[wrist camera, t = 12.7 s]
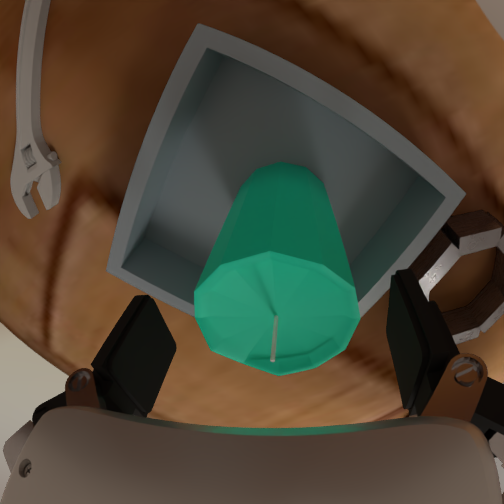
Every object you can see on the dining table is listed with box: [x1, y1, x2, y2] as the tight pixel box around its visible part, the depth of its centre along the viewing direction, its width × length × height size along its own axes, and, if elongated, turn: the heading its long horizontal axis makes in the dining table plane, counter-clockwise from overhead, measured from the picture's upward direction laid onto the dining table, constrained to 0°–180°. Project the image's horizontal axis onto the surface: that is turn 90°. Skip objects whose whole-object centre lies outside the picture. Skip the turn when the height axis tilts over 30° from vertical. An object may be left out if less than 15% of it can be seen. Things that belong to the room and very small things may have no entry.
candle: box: [194, 162, 361, 376], centre depth 14 cm, size 6×6×12 cm
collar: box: [407, 210, 504, 344], centre depth 20 cm, size 12×12×3 cm
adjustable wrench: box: [11, 0, 61, 219], centre depth 15 cm, size 25×6×2 cm, turn 169°
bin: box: [106, 23, 466, 318], centre depth 18 cm, size 16×16×5 cm
